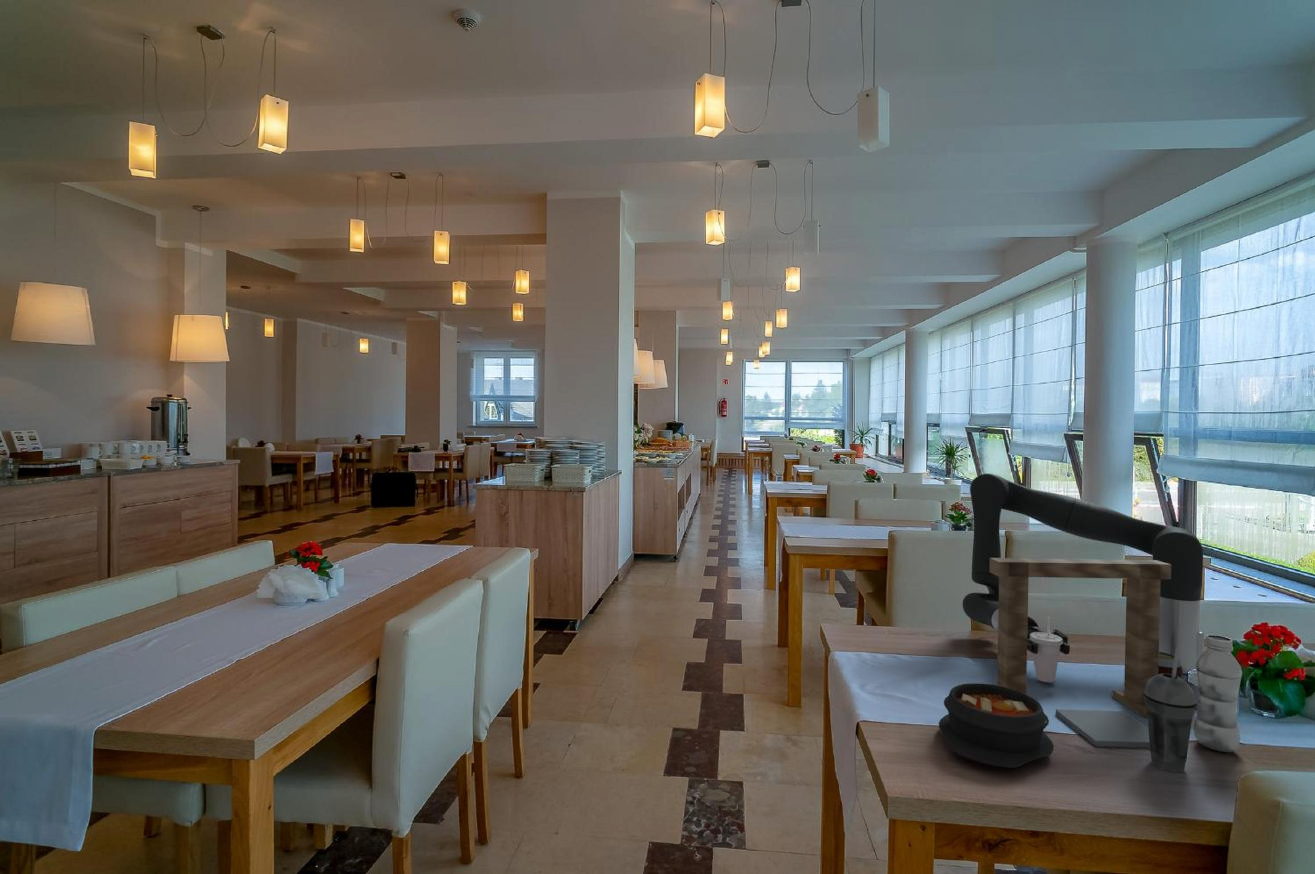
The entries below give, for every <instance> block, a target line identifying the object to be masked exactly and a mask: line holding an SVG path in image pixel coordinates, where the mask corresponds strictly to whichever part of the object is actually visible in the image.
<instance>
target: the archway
mask: <svg viewBox="0 0 1315 874" xmlns="http://www.w3.org/2000/svg"><path fill="white" fill-rule="evenodd" d="M990 573H992V574H994V575H996V576H998V577H999V611H998V632H997V663H996V665H997V668H996V670H997V672H996V674H997V677H996V685H997V686H1002V687H1006V688H1010V689H1013V690H1016V691H1019V692H1022V693H1024V694H1026V695H1027V682H1028V681H1027V679H1028V678H1027V675H1028V674H1027V672H1028V671H1027V669H1028V650H1027V632H1028V615H1029V581H1030V580H1029V578H1064V579H1065V578H1067V579H1071V578H1072V579H1121V580H1122V579H1125V580H1126V596H1125V597H1126V598H1125V599H1126V600H1125V601H1126V602H1125V603H1126V606H1125V636H1124V637H1125V638H1124V639H1125V642H1124V645H1125V646H1124V677H1123V678H1124V681H1123V682H1124V686H1123V689H1112V690H1111V691H1112V692H1111V693H1112V694H1111V695H1112V697H1113V699H1115V700H1116V701H1118V702H1120V703H1121V704H1123V705H1125V706H1126V707H1128V708H1129V709H1131V710H1132V711H1134V712H1135V713H1137V714H1138V715H1140V716H1142V717H1143V718H1146V719H1148V717H1147V707H1146V704H1145V697H1144V695H1143V693H1144V690H1145V686H1146V684H1147V682H1148V681H1149V679H1151V678H1152V677H1154V676H1156V675H1158V661H1159V622H1160V583H1161V579H1171V564H1168V563H1164V562H1161V561H1158V560H1153V559H1101V558H1100V559H1097V558H1096V559H1095V558H1094V559H1092V558H1091V559H1089V558H1088V559H1087V558H1081V559H1080V558H1032V557H1030V558H1028V557H1026V558H1025V557H1023V558H1018V557H1001V558H990Z"/></svg>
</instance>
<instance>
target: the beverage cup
mask: <svg viewBox="0 0 1315 874" xmlns="http://www.w3.org/2000/svg"><path fill="white" fill-rule="evenodd" d="M1178 656H1179V650H1178V649H1175V656H1174V663H1173V671H1172V674H1158V675H1156V676H1154V677H1152V678H1151V679H1149V681H1148V682H1147V684H1146V686H1145V690H1144V693H1143V695H1144V697H1145V704H1146V707H1147V717H1148V718H1147V728H1148V730H1149V743H1150V748H1149V751H1150V752H1149V753H1150V758H1151V763H1152V765H1153V766H1154V767H1157V768H1158V769H1161V770H1162V771H1167V772H1171V773H1179V772H1180V773H1183V772H1185V771H1186V770H1185V768H1186V763H1187V759H1188V752H1189V744H1190V736H1191V729H1192V728H1191V727H1192V725H1193V724H1192V723H1193V722H1192V721H1193V718H1194V717H1195V716H1194V715H1195V712H1196V707H1198V704H1197V703H1198V702H1197V700H1196V698H1197V697H1196V696H1195V693H1194V690H1193V689H1192V687H1191V686H1190V684H1188V682H1187V681H1185V680H1184V679H1183V678H1180V677H1177V676H1176V670H1177V663H1178Z"/></svg>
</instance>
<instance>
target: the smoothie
mask: <svg viewBox="0 0 1315 874" xmlns="http://www.w3.org/2000/svg"><path fill="white" fill-rule="evenodd" d="M1046 620H1047V625H1046V626H1047V627H1046V628H1047V629H1046V631H1047V633H1045V632H1033V633H1031V634H1030V640H1031V641H1033V642H1035V643H1036V644H1037V645H1038V653H1037V654H1033V653H1032V655H1033V665H1034V674H1035V679H1036V680H1038V681H1040V682H1045V683H1055V681H1056V677H1057V669H1058V665H1059V657H1060V646H1061V644H1062V643H1063V642H1062V638H1061V637H1060V636H1057V635H1055V634H1051V633H1052V632H1051V617H1050V616H1048V617H1047V619H1046ZM1050 632H1051V633H1050Z"/></svg>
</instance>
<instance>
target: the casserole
mask: <svg viewBox="0 0 1315 874" xmlns="http://www.w3.org/2000/svg"><path fill="white" fill-rule="evenodd" d="M943 706H944V708H945V709H946V711H947V714H945V715H944V716H943V717H942V718H940V720H939V722H938V728H939V730H940V732H941V734H942V735H943V738H944V739H943V741H944V745H945V747H946V748H947V749H948V750H949V751H951V752H952V753H954V754H957V755H958V756H961V757H963V758H965V759H968V760H972V761H974V762H977V763H981V764H984V765H988V766H994V767H998V768H1007V769H1015V768H1020V767H1021V766H1024V765H1026V764H1028V763H1030V762H1033V761H1036V760H1039V759H1043V758H1046V757H1048V756H1051V754H1052V753H1053V751H1054V746H1055V745H1054V743H1053V741H1052V740H1051V739H1050V738H1049V736H1048V735H1047V734H1046V733H1045V732H1044V730H1045V729H1046V728H1047V727H1048V726H1049V724H1050V723H1049V722H1050V720H1049V717H1048V716H1047V714H1045V712H1044V709H1043V707H1042V704H1041V703H1040V702H1039V701H1038V700H1037V699H1035V698H1034V697H1032V696H1030V695H1028V694H1027V693H1026V694H1024V693H1022V692H1019V691H1016V690H1013V689H1010V688H1006V687H1002V686H997V684H996V685H995V684H991V683H990V684H988V683H980V682H979V683H976V682H975V683H964V684H963V683H962V684H958V685H955V686H954V687H952V688H951V689H950V691H949V694H948V696H946V697H945V698H944V700H943Z"/></svg>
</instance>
